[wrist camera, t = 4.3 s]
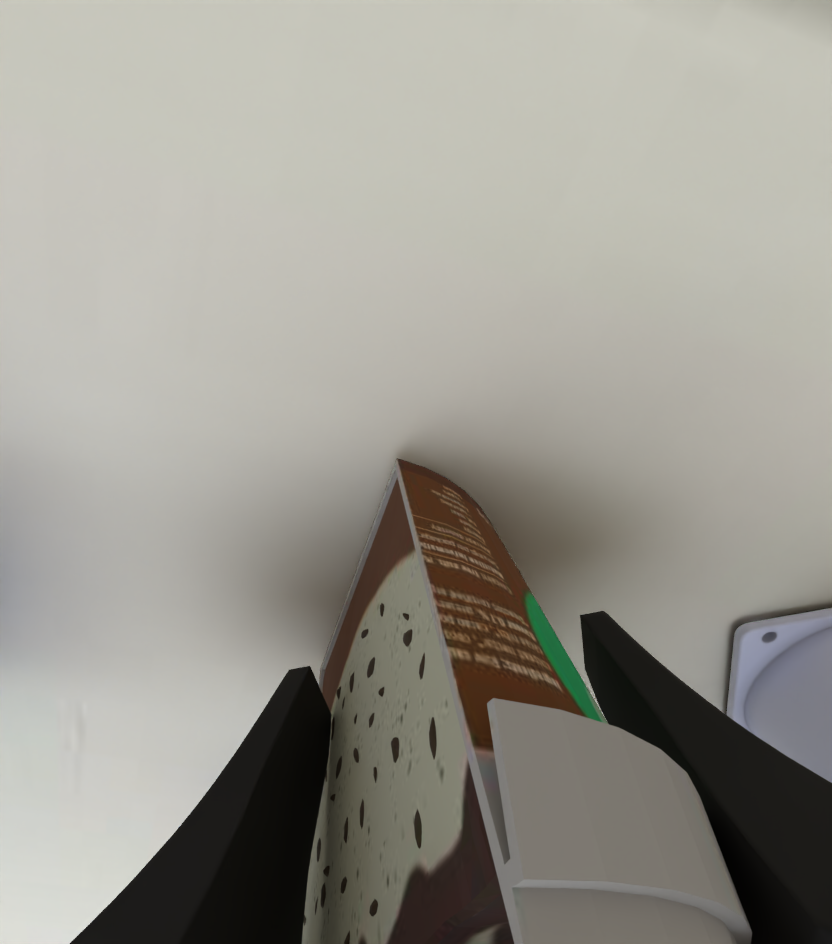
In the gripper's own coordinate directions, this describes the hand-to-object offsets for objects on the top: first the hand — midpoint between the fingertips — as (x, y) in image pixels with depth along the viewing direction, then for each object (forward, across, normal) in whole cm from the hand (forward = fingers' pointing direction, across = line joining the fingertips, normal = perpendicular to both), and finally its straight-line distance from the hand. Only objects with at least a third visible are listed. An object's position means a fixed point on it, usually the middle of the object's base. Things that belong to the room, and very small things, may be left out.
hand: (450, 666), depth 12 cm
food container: (+3, 0, 0) cm, 3 cm away
